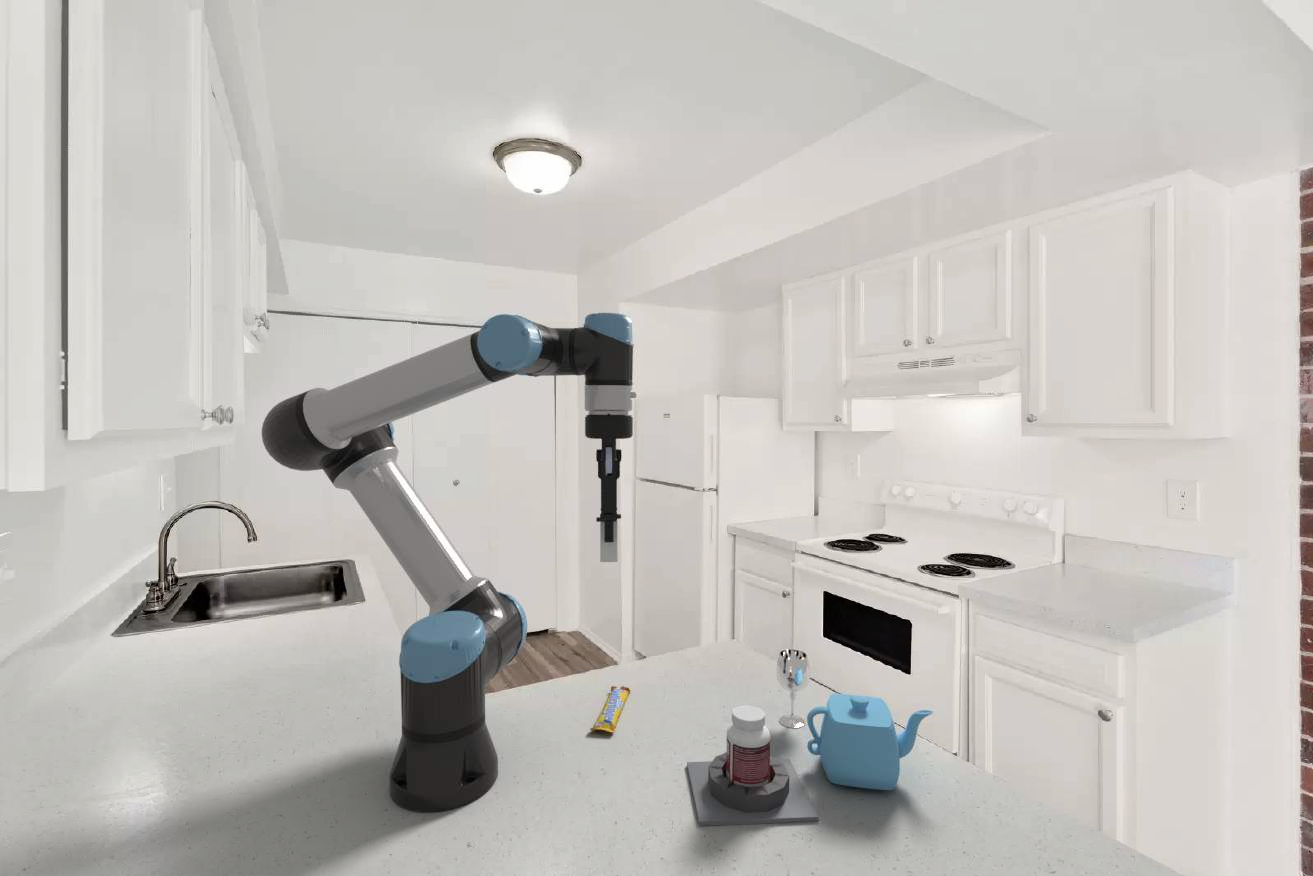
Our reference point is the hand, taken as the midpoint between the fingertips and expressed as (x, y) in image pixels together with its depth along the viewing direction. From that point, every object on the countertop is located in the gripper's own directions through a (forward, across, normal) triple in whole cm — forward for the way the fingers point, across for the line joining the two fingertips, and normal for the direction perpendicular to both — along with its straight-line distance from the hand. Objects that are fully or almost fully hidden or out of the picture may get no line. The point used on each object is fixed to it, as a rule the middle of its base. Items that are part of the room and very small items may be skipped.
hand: (608, 560), depth 102 cm
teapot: (+31, -10, -39) cm, 51 cm away
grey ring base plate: (+30, -14, -20) cm, 39 cm away
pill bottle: (+30, -14, -20) cm, 38 cm away
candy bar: (+31, +12, 0) cm, 33 cm away
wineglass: (+31, +6, -32) cm, 45 cm away
